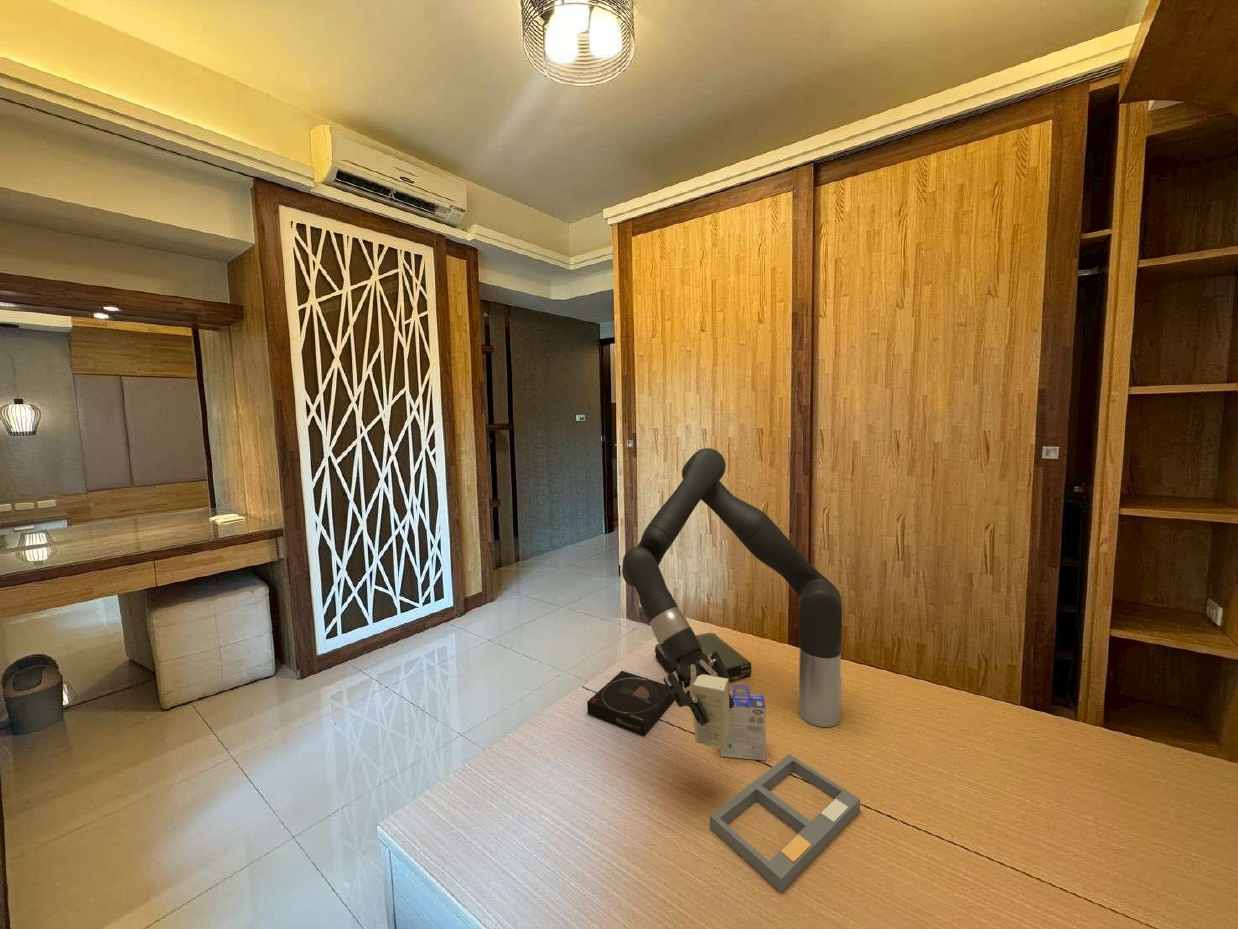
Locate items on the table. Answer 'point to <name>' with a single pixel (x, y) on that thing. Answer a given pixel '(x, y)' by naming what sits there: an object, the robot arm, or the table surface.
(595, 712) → the portable cd player
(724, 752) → the ink cartridge box
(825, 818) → the grey divided frame
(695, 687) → the skincare box
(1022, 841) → the table surface
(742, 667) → the network switch
